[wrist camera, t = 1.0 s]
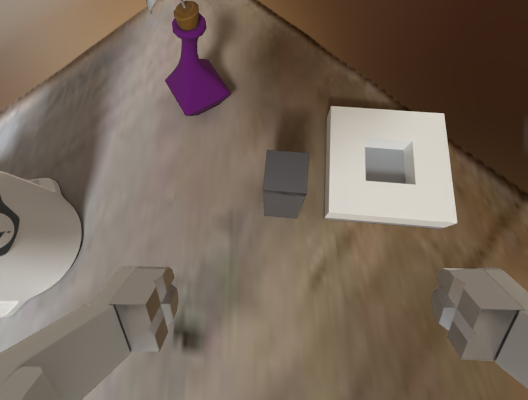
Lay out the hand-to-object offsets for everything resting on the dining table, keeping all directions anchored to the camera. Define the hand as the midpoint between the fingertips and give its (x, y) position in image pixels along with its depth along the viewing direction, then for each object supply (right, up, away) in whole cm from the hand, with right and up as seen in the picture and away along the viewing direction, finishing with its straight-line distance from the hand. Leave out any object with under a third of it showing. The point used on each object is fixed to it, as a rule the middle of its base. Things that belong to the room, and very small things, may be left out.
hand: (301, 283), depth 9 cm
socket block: (+16, +7, +32) cm, 36 cm away
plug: (+1, +2, +31) cm, 31 cm away
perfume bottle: (-11, +19, +37) cm, 43 cm away
